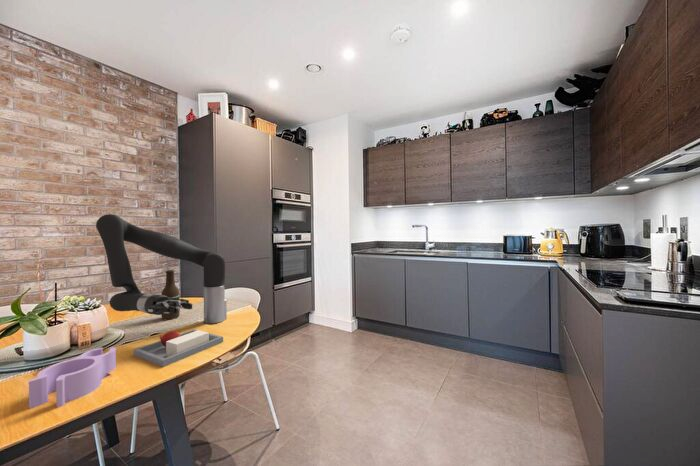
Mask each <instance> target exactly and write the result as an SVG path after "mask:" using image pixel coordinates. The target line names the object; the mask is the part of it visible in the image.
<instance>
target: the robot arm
mask: <svg viewBox="0 0 700 466" xmlns="http://www.w3.org/2000/svg"><path fill="white" fill-rule="evenodd" d="M95 228H96V230H97V232H98V234H99V236H100V238H101V242H102V243H103V245H104V247H103V248H104V250H105V254H106V258H107V265H108V270H109V276H110V280H111V285H112V286H113V287H114V288H124V290H125V291H123V292H119V293H115V294H114V295H113V296H111V298H110V299H109V307H110V308H111V309H113V310H114V311H117V312H131V311H134V312H142V313H144V314H148V315H157V316H161V315H162V314H164V313H174V314H176V313H178V310H179V309H183V310H193V303H190V300H188V299H184V298H179V300H170V299H169V298H168V297H167V296H165V295H161V294H156V293H141V291H140V289H139V287H138V285H137V284H136V282H135V280H134V276H133V271H132V266H131V264H130V260H129V257H128V254H127V252H126V251H127V250H126V247H125V242H127V243H131V244H135V245H137V246H139V247H141V248H143V249H146V250H148V251H151V252H153V253H155V254H158V255H161V256H164V257H167V258H170V259H175V260H181V261H185V262H191V263H193V264H195V265H198V266H200V267H202V268H203V323H205V324H207V325H208V324H219V323H222V322H223V321H225V320H227V315H228V314H227V313H228V312H227V311H228V310H227V299H226V297H225V281H226V280H225V279H226V261H225V257H223V255H222V254H221V253H219V252H214V251H212V250H211V251H210V250H207V249H203V248H199V247H196V246H195V245H193V244H190V243H188V242H186V241H184V240H182V239H181V238H180V239H179V238H177V237H175V236H172V235H170V234H165V233H163V232H159V231H155V230H151V229H150V230H149V229H145V228H142V227H140V226H137V225H134V224H132V223H130V222H127V221H126V220H124V219H123V218H122V217H120V216H119V215H116V214H111V213H110V214H109V213H107V214H104V215H102V216H100V217H99V218H98V219H97V220H96V223H95ZM176 304H177V307H176Z"/></svg>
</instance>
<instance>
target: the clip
mask: <svg viewBox="0 0 700 466" xmlns="http://www.w3.org/2000/svg"><path fill="white" fill-rule="evenodd" d="M103 348H104V347H97V348H94V349H90V350H87V351H85V352H83V353H81V354H80V355H79V356H77V357H74V358H71V359H70V358H69V359H66V360H63V361H60V362H57V363H55V364H52V365H49V366H47V367H45V368H43V369H41V370H40V371H39V372H38V373H37V374H36V377H35V378H31V379H29V380H28V409H33V408H36V407H39V406H41V405H43V404H46V403H47V402H49V394H51V393H53V392H55V397H56V399H55V401H56V408H60V407H63V406H65V404H66V403H68V402H71V401H74V400H77V399H80V398H83V397H84V396H87V395H89V394H91V393H92V392H94V391H95V390H97V389H98V388H99V387H101V385H102V381H103V380H104V379H105V378H107V377H109V376H111V372H112V371H115V369H116V367H117V348H116V346H112V347H110V348H109V350H108V352H106V353H104V352H103V350H104V349H103Z"/></svg>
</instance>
